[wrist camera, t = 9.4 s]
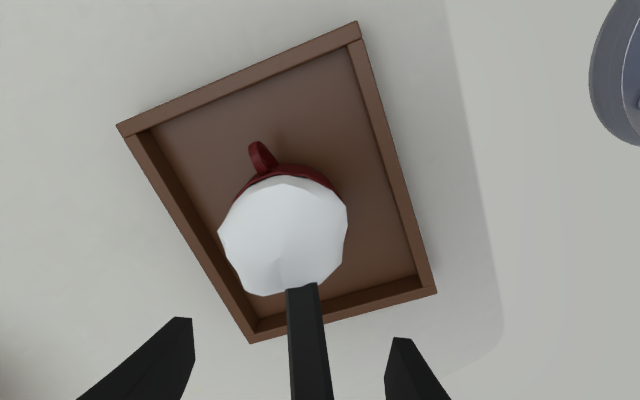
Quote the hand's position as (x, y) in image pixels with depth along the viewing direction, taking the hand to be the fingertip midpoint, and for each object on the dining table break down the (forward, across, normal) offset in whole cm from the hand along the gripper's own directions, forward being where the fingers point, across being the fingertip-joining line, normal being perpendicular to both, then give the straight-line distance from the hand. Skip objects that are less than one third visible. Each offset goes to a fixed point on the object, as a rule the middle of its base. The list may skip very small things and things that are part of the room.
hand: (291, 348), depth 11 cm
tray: (+10, +1, -1) cm, 10 cm away
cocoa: (+10, +1, -1) cm, 10 cm away
